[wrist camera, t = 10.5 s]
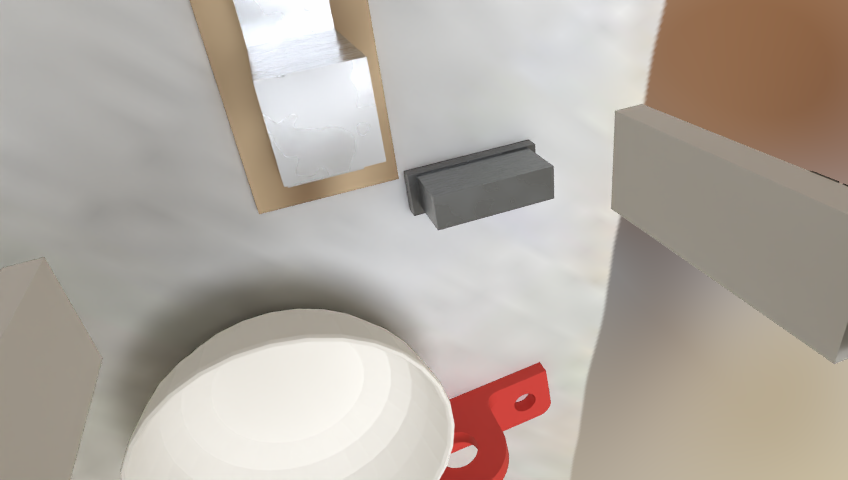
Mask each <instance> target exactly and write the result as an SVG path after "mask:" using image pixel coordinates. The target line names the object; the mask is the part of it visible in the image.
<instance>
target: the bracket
mask: <svg viewBox="0 0 848 480" xmlns="http://www.w3.org/2000/svg"><path fill="white" fill-rule="evenodd" d="M528 393H529V395H528V396H527V397H526V398H525V399H524V400H522V401H520V402H516V400H517V399H518V398H519V397H520V396H522V395H524V394H528ZM450 404H451V409H452V414H453V419H454V425H455V426H454V440H453V448H452V451H451V453H454V452H456V451H458V450H460V449H463V448H465V447H467V446H470V445H474V446H475V447H476V448H477V449H478V452H477V455H476V457H475V458H474V460H473V461H472V462H471V463H469V464H468V465H466V466H464V467H461V468H450V467H446V469H445V471H444V472H443V474H442V476H441V478H440V480H503V478H504V476H505V474H506V472H507V468H508V464H509V453H508V448H507V444H506V439H505V436H504V433H503V431H505V430H507V429H509V428H512V427H514V426H516V425H519V424H521V423H523V422H526V421H528V420H530V419H533V418H535V417H537V416H540V415H541V414H543V413H544V412H546V411H547V410H548V408H549V406H550V404H551V400H550V394H549V388H548V381H547V375H546V370H545V369H544V368H543V366H542V365H541V364H540V362H539V363H537V364H534V365H532V366H529V367H527V368H525V369H522V370H520V371H517V372H515V373H513V374H510V375H508V376H505V377H503V378H501V379H498V380H496V381H493V382H491V383H488V384H486V385H484V386H481V387H479V388H476V389H474V390H472V391H469V392H467V393H464V394H462V395H460V396H457V397H455V398H452V399H450Z"/></svg>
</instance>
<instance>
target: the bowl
mask: <svg viewBox="0 0 848 480" xmlns="http://www.w3.org/2000/svg"><path fill="white" fill-rule="evenodd" d="M454 426H455V425H454V419H453V414H452V409H451V404H450V400H449V398H448V396H447V394H446V392H445V390H444V389H443V387H442V385H441V383H440V381H439V380H438V379H437V378H436V376H435V375H434V374H433V373H432V372H431V371H430V369H429V368H428V367H427V366H426V365H425V363H424V362H423V361H422V360H421V359H420V358H419V356H418V355H417V354H416V353H415V352H414V351H413V350H412V349H411V348H410V347H409V346H408V345H407V343H406V342H405V341H403V340H402V339H400V338H399V337H397V336H396V335H394V334H393V333H391V332H389V331H388V330H386V329H385V328H382V327H380V326H377V325H375V324H372V323H370V322H367V321H365V320H362V319H360V318H357V317H355V316H352V315H350V314H346V313H341V312H336V311H331V310H325V309H291V310H284V311H277V312H270V313H267V314H263V315H260V316H257V317H254V318H251V319H247V320H244V321H241V322H239V323H237V324H235V325H233V326H231V327H229V328H227V329H225V330H223V331H221V332H219V333H217V334H216V335H215V336H213V337H212V338H210V339H209V340H208V341H206V342H205V343H204V344H202V345H201V346H199V347H198V348H197V349H195V350H194V352H193V353H191V354H190V355H189V356H187V357H186V358H184V359H183V360H182V361H180V362H179V363H178V364H177V365H176V366H175V368H174V369H173V370H172V371H171V372H170V373H169V374H168V375H167V376H166V377H165V378H164V379H163V380H162V381H161V382H160V383H159V385H158V387H157V388H156V390H155V392H154V393H153V395H152V397H151V398H150V400H149V402H148V403H147V405H146V407H145V409H144V411H143V413H142V415H141V417H140V419H139V421H138V423H137V425H136V428H135V430H134V432H133V434H132V436H131V438H130V440H129V442H128V445H127V449H126V452H125V456H124V459H123V462H122V466H121V480H440V478H441V476H442V474H443V472H444V471H445V469H446V467H447V464H448V460H449V457H450V454H451V451H452V448H453V440H454Z"/></svg>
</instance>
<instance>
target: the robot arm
mask: <svg viewBox="0 0 848 480" xmlns="http://www.w3.org/2000/svg"><path fill="white" fill-rule="evenodd" d="M611 209H612V210H614V211H615V212H617V213H618V214H620V215H621V216H622V217H624V218H625V219H627V220H628V221H630V222H631V223H633V224H634V225H636V226H637V227H638V228H640V229H641V230H643V231H644V232H646V233H647V234H648V235H650V236H651V237H653V238H654V239H655V240H657V241H658V242H660V243H661V244H663V245H664V246H666V247H667V248H669V249H670V250H671V251H673V252H674V253H676V254H677V255H678V256H680V257H681V258H683V259H684V260H686V261H687V262H688V263H690V264H691V265H693V266H694V267H696V268H697V269H699V270H700V271H701V272H703V273H704V274H706V275H707V276H709V277H710V278H711V279H713V280H714V281H716V282H717V283H719V284H720V285H721V286H723V287H724V288H726V289H727V290H729V291H730V292H732V293H733V294H734V295H736V296H737V297H739V298H740V299H742V300H743V301H744V302H746V303H747V304H749V305H750V306H752V307H753V308H754V309H756V310H757V311H759V312H760V313H762V314H763V315H765V316H766V317H767V318H769V319H770V320H772V321H773V322H775V323H776V324H777V325H779V326H780V327H782V328H783V329H785V330H786V331H788V332H789V333H790V334H792V335H793V336H795V337H796V338H798V339H799V340H800V341H802V342H803V343H805V344H806V345H808V346H809V347H810V348H812V349H814V350H815V351H816V352H818V353H819V354H821V355H822V356H823V357H825V358H826V359H828V360H829V361H831V362H832V363H833V364H836V363H838V362H841V361H843V360H846V359H848V185H846V184H840V183H839V181H836V180H834V179H831V178H829V177H826V176H823V175H821V174H818V173H816V172H813V171H808V170H805V169H802V168H800V167H797V166H795V165H793V164H790V163H787V162H785V161H782V160H780V159H777V158H775V157H773V156H770V155H768V154H765V153H762V152H760V151H757V150H755V149H753V148H750V147H748V146H745V145H742V144H740V143H738V142H735V141H733V140H730V139H728V138H725V137H723V136H720V135H718V134H715V133H713V132H710V131H708V130H705V129H703V128H700V127H698V126H695V125H692V124H690V123H688V122H685V121H683V120H680V119H678V118H675V117H673V116H670V115H668V114H665V113H663V112H660V111H658V110H655V109H653V108H650V107H648V106H645V105H643V104H640V105H636V106H632V107H629V108H625V109H621V110H617V111H615V126H614V151H613V176H612V201H611ZM102 359H103V358H102V357H101V355H100V353H99V352H98V350H97V348H96V346H95V345H94V343H93V341H92V339H91V338H90V336H89V334H88V332H87V331H86V329H85V327H84V325H83V324H82V322H81V320H80V318H79V317H78V315H77V313H76V311H75V310H74V308H73V306H72V304H71V303H70V301H69V299H68V297H67V296H66V294H65V292H64V291H63V289H62V287H61V285H60V284H59V282H58V280H57V278H56V277H55V275H54V273H53V271H52V270H51V268H50V266H49V264H48V263H47V261H46V259H45V257H42V258H38V259H35V260H31V261H27V262H23V263H19V264H15V265H11V266H7V267H3V268H2V270H1V271H0V480H70V479H71V475H72V471H73V468H74V464H75V460H76V456H77V453H78V449H79V445H80V442H81V438H82V434H83V430H84V427H85V423H86V419H87V415H88V412H89V408H90V404H91V400H92V397H93V393H94V389H95V385H96V382H97V378H98V374H99V371H100V367H101V363H102Z"/></svg>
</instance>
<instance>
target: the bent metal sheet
mask: <svg viewBox="0 0 848 480" xmlns="http://www.w3.org/2000/svg"><path fill="white" fill-rule="evenodd" d="M233 2H234V5H235V9H236V12H237V16H238V19H239V22H240V26H241V29H242V33H243V36H244V39H245V43H246V46H247V52H248V57H249V63H250V69H251V74H252V80H253V84H254V87H255V91H256V94H257V97H258V101H259V104H260V107H261V111H262V114H263V118H264V121H265V124H266V128H267V131H268V134H269V138H270V141H271V145H272V148H273V151H274V155H275V158H276V161H277V165H278V168H279V172H280V175H281V178H282V182H283V185H284V187H286V186H288V188H290V187H294V186H298V185H301V184H305V183H309V182H313V181H317V180H321V179H325V178H329V177H333V176H337V175H341V174H345V173H349V172H353V171H357V170H361V169H364V167H366V166H370V165H374V164H378V163H382V162H386V157H385V152H384V146H383V141H382V136H381V130H380V125H379V120H378V114H377V109H376V104H375V99H374V93H373V88H372V83H371V77H370V72H369V67H368V61H367V57H366V56H365V55H364V54H363V53H362V52H361V51H359V50H358V49H357V48H356V47H355V46H354V45H353V44H352V43H350V42H349V41H348V40H347V39H346V38H345V37H344V36H343V35H341V34H340V33H339V32H338V31H337V30H336V29H335V28H334V23H333V19H332V14H331V9H330V4H329V0H233Z"/></svg>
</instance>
